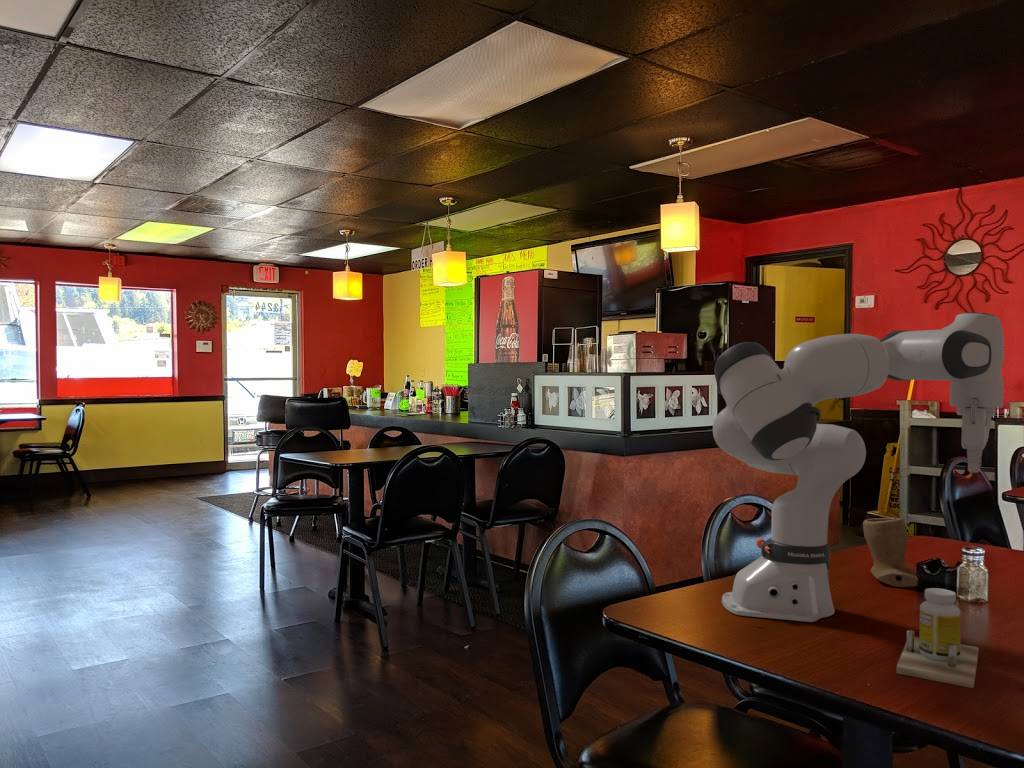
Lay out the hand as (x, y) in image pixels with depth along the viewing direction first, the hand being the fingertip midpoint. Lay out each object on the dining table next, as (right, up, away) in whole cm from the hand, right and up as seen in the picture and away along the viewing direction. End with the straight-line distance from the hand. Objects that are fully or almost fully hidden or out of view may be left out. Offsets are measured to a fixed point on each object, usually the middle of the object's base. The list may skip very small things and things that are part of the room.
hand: (974, 469), depth 151 cm
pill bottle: (-16, -30, -17) cm, 38 cm away
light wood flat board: (-16, -31, -17) cm, 39 cm away
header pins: (-17, -30, -16) cm, 38 cm away
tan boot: (+1, -31, +37) cm, 48 cm away
